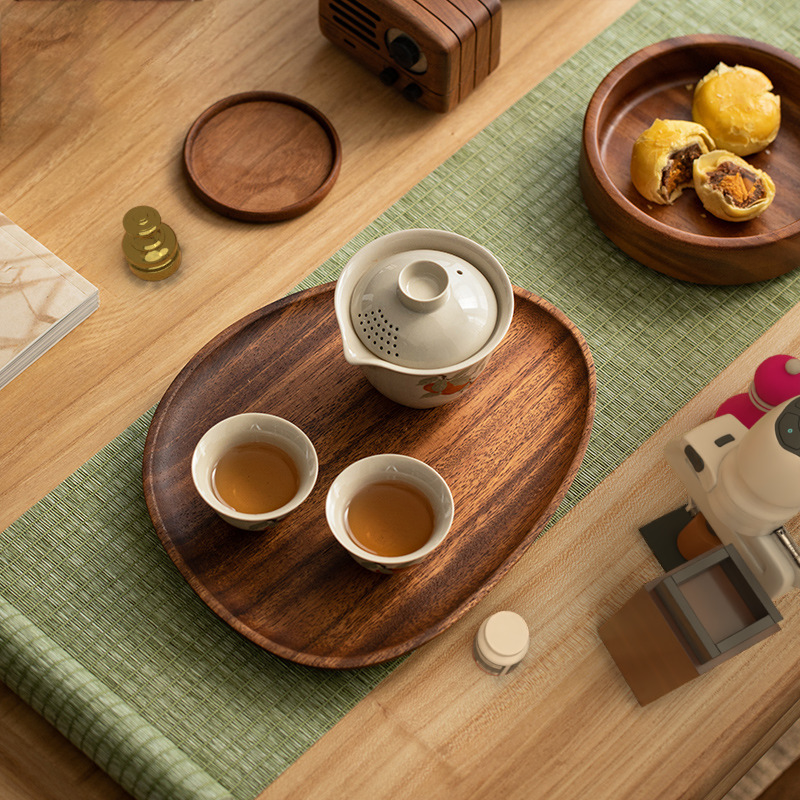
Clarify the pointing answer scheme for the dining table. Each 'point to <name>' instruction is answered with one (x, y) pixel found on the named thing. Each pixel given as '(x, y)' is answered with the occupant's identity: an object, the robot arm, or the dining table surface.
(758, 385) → the pepper mill
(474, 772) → the dining table surface
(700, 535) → the amber bottle
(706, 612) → the stand
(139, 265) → the brass knob weight
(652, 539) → the slate mat
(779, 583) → the robot arm
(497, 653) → the pill bottle
